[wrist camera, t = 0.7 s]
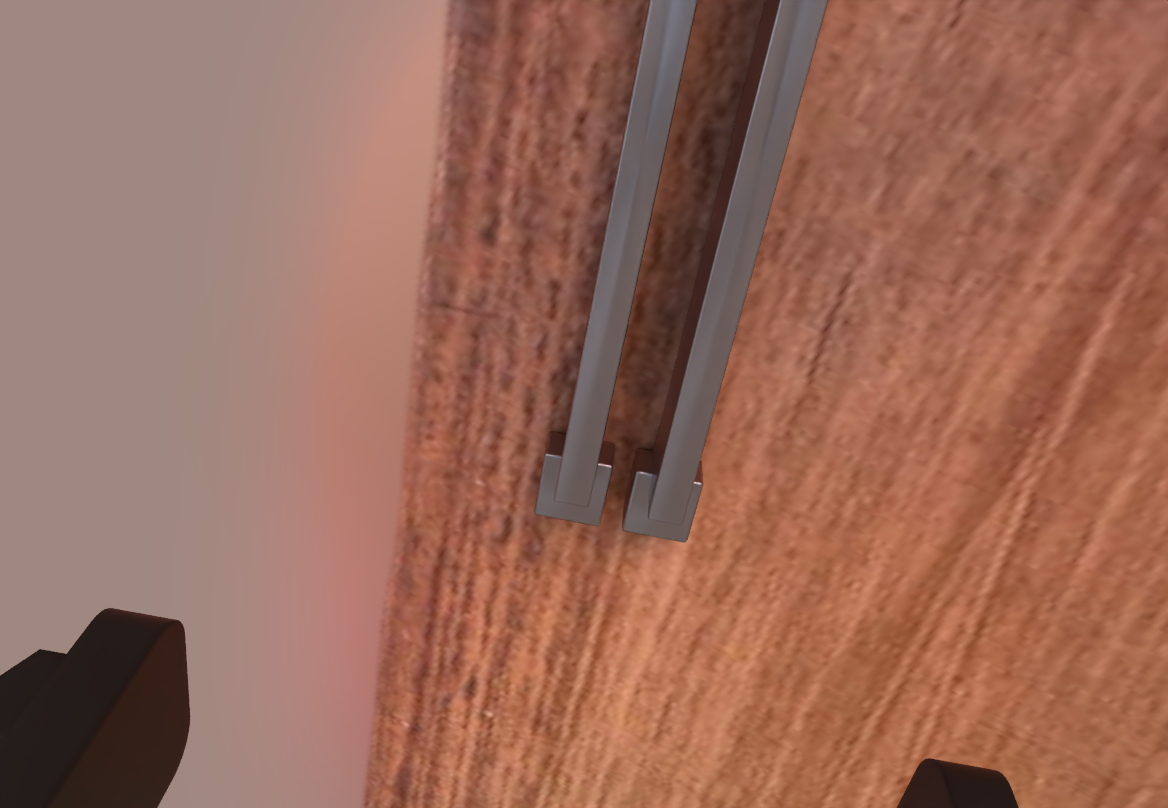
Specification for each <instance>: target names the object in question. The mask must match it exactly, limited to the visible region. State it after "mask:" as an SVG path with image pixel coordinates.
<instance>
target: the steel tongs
mask: <svg viewBox="0 0 1168 808" xmlns="http://www.w3.org/2000/svg"><path fill="white" fill-rule="evenodd" d="M697 2H698V0H649V5H648V10H647V16H646V21H645V26H644V31H643V36H642V42H641V47H640V52H639V57H638V63H637V68H636V73H635V78H634V83H633V89H632V94H631V99H630V104H629V109H628V115H627V120H626V125H625V130H624V135H623V141H622V146H621V151H620V156H619V161H618V167H617V172H616V177H615V182H614V187H613V193H612V198H611V203H610V208H609V214H608V219H607V224H606V229H605V234H604V240H603V245H602V250H601V255H600V260H599V266H598V271H597V276H596V281H595V286H594V292H593V297H592V302H591V307H590V312H589V318H588V323H587V328H586V333H585V339H584V344H583V349H582V354H581V359H580V365H579V370H578V375H577V380H576V385H575V391H574V396H573V401H572V406H571V411H570V417H569V422H568V427H567V432H566V434H563V433H557V432H550V433H549V437H548V441H547V446H546V450H545V455H544V461H543V466H542V472H541V477H540V483H539V488H538V494H537V499H536V505H535V510H534V513H535V514H536V515H540V516H546V517H551V518H556V519H562V520H567V521H572V522H577V523H583V524H588V525H593V526H599V525H600V522H601V517H602V513H603V508H604V504H605V499H606V495H607V491H608V486H609V482H610V477H611V473H612V468H613V460H614V450H615V445H614V443H610V442H604V441H603V438H604V434H605V429H606V424H607V420H608V415H609V410H610V406H611V401H612V397H613V392H614V387H615V383H616V378H617V373H618V369H619V364H620V359H621V355H622V350H623V345H624V341H625V336H626V331H627V327H628V322H629V318H630V313H631V308H632V304H633V299H634V294H635V290H636V285H637V280H638V276H639V271H640V266H641V262H642V257H643V253H644V248H645V243H646V239H647V234H648V229H649V225H650V220H651V215H652V211H653V206H654V201H655V197H656V192H657V188H658V183H659V178H660V174H661V169H662V164H663V160H664V155H665V150H666V146H667V141H668V136H669V132H670V127H671V123H672V118H673V113H674V109H675V104H676V99H677V95H678V90H679V85H680V81H681V76H682V71H683V67H684V62H685V58H686V53H687V48H688V44H689V39H690V34H691V30H692V25H693V20H694V16H695V11H696V6H697ZM827 4H828V0H765V4H764V8H763V12H762V16H761V20H760V24H759V28H758V32H757V36H756V40H755V44H754V48H753V52H752V56H751V60H750V64H749V68H748V72H747V76H746V81H745V85H744V89H743V93H742V97H741V101H740V105H739V109H738V113H737V117H736V121H735V125H734V129H733V133H732V137H731V141H730V145H729V149H728V153H727V157H726V161H725V165H724V169H723V173H722V177H721V181H720V185H719V189H718V193H717V197H716V201H715V206H714V210H713V214H712V218H711V222H710V226H709V230H708V234H707V238H706V242H705V246H704V250H703V254H702V258H701V262H700V266H699V270H698V274H697V278H696V282H695V286H694V290H693V294H692V298H691V302H690V306H689V310H688V314H687V318H686V322H685V326H684V331H683V335H682V339H681V343H680V347H679V351H678V355H677V359H676V363H675V367H674V371H673V375H672V379H671V383H670V387H669V391H668V395H667V399H666V403H665V407H664V411H663V415H662V419H661V423H660V427H659V431H658V435H657V439H656V443H655V447H654V451H650V450H645V449H638V450H637V451H636V456H635V460H634V464H633V468H632V473H631V477H630V481H629V485H628V489H627V494H626V498H625V502H624V508H623V521H622V529H623V531H626V532H632V533H637V534H642V535H647V536H653V537H658V538H663V539H668V540H674V541H679V542H686V541H687V540H688V536H689V533H690V529H691V526H692V522H693V519H694V515H695V512H696V508H697V505H698V501H699V498H700V494H701V490H702V487H703V473H702V461H700V460H701V456H702V453H703V449H704V445H705V442H706V438H707V435H708V431H709V427H710V424H711V420H712V417H713V413H714V410H715V406H716V402H717V399H718V395H719V392H720V388H721V384H722V381H723V377H724V374H725V370H726V366H727V363H728V359H729V356H730V352H731V348H732V345H733V341H734V338H735V334H736V330H737V327H738V323H739V320H740V316H741V313H742V309H743V305H744V302H745V298H746V295H747V291H748V287H749V284H750V280H751V277H752V273H753V269H754V266H755V262H756V259H757V255H758V251H759V248H760V244H761V241H762V237H763V234H764V230H765V226H766V223H767V219H768V216H769V212H770V208H771V205H772V201H773V198H774V194H775V190H776V187H777V183H778V180H779V176H780V172H781V169H782V165H783V162H784V158H785V154H786V151H787V147H788V144H789V140H790V137H791V133H792V129H793V126H794V122H795V119H796V115H797V111H798V108H799V104H800V101H801V97H802V93H803V90H804V86H805V83H806V79H807V75H808V72H809V68H810V65H811V61H812V58H813V54H814V50H815V47H816V43H817V40H818V36H819V32H820V29H821V25H822V22H823V18H824V14H825V11H826V7H827Z"/></svg>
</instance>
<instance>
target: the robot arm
mask: <svg viewBox="0 0 1168 808" xmlns="http://www.w3.org/2000/svg"><path fill="white" fill-rule="evenodd" d="M188 692H189V691H188V675H187V661H186V644H185V631H184V627H183V625H182V623H181V622H180V621H179V620H174V619H168V618H162V617H157V616H152V615H146V614H140V613H135V612H129V611H123V610H118V609H113V608H108V609H105V610H103V611H101V612H100V613H99V614H98V615H97V616H96V617H95V618H94V619H93V620H92V621H91V623H90V624H89V626H88V627H87V628H86V629H85V631H84V632H83V633H82V635H81V636H80V637H79V639H78V640H77V641H76V642H75V644H74V645H73V646H72V648H71V649H70V650H69V652H68V653H67V654H64V653H58V652H52V651H46V650H41V649H40V650H38V651H37V652H35V653H34V654H32V655H31V656H29V657H28V658H26V659H25V660H23V661H22V662H20V663H19V664H17V665H16V666H14V667H13V668H11V669H10V670H8V671H7V672H5V673H4V674H2V675H1V676H0V808H157V807H158V805H159V803H160V801H161V800H162V798H163V796H164V794H165V792H166V791H167V789H168V787H169V785H170V783H171V781H172V779H173V777H174V775H175V773H176V771H177V769H178V766H179V764H180V761H181V759H182V756H183V753H184V749H185V746H186V742H187V738H188V732H189V726H190V708H189V693H188ZM897 808H1018V805H1017V802H1016V800H1015V797H1014V794H1013V791H1012V789H1011V787H1010V784H1009V782H1008V781H1007V779H1006V778H1005V777H1004V775H1003V774H1002V773H1000V772H999V771H996V770H991V769H985V768H980V767H974V766H969V765H963V764H958V763H952V762H946V761H941V760H935V759H930V758H929V759H925V760H924V761H922V762H921V763H920V765H919V766H918V768H917V769H916V771H915V773H914V775H913V777H912V779H911V781H910V783H909V785H908V787H907V789H906V791H905V793H904V795H903V797H902V799H901V801H900V803H899V805H898V806H897Z"/></svg>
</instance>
